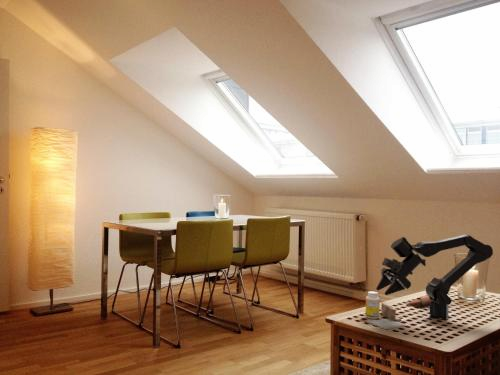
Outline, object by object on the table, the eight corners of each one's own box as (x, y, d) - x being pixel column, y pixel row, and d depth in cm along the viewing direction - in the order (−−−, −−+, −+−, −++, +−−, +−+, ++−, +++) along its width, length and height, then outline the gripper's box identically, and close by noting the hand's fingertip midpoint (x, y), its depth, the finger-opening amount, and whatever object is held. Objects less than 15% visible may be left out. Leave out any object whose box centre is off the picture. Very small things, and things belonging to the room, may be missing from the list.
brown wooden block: (381, 313, 206) (381, 302, 206) (389, 313, 206) (389, 302, 206) (392, 321, 194) (392, 309, 194) (401, 321, 194) (401, 309, 194)
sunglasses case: (423, 299, 236) (430, 288, 233) (435, 309, 231) (443, 298, 229) (404, 304, 223) (412, 293, 221) (417, 315, 219) (424, 304, 216)
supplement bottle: (369, 314, 203) (369, 290, 203) (381, 317, 200) (382, 292, 200) (362, 317, 199) (363, 292, 199) (375, 319, 195) (376, 294, 195)
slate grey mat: (386, 320, 195) (386, 318, 195) (405, 326, 187) (405, 325, 187) (367, 322, 191) (367, 321, 191) (385, 329, 182) (385, 327, 182)
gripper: (386, 248, 210) (360, 273, 208) (404, 254, 191) (376, 282, 190) (403, 267, 210) (377, 292, 209) (422, 274, 192) (394, 302, 191)
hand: (380, 292), depth 200 cm, fingers open, 9 cm apart
